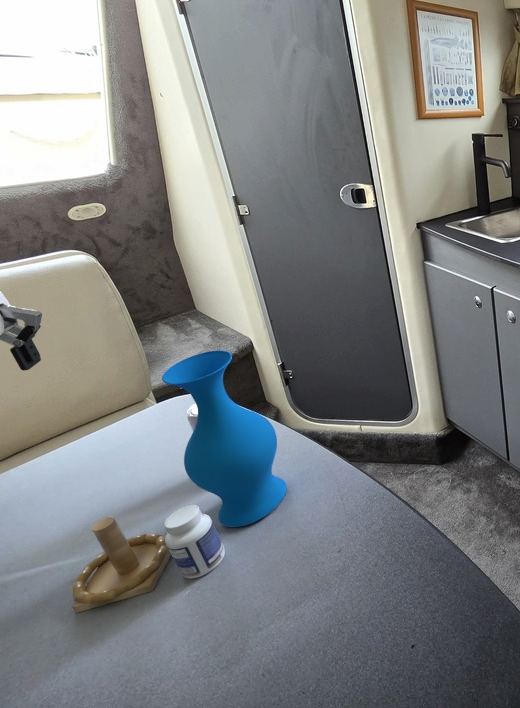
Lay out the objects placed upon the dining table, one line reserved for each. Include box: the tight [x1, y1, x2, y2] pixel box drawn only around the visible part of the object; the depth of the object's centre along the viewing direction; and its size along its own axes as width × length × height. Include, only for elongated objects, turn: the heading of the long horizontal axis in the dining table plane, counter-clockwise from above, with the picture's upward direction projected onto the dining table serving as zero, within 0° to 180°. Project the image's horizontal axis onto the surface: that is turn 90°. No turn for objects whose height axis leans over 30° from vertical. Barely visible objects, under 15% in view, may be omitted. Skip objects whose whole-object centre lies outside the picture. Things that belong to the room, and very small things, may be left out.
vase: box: [161, 350, 288, 528], centre depth 79 cm, size 12×13×28 cm
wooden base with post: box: [71, 516, 172, 614], centre depth 72 cm, size 9×9×10 cm
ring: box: [72, 532, 168, 604], centre depth 73 cm, size 10×10×1 cm
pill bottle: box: [164, 504, 226, 580], centre depth 73 cm, size 5×5×10 cm
